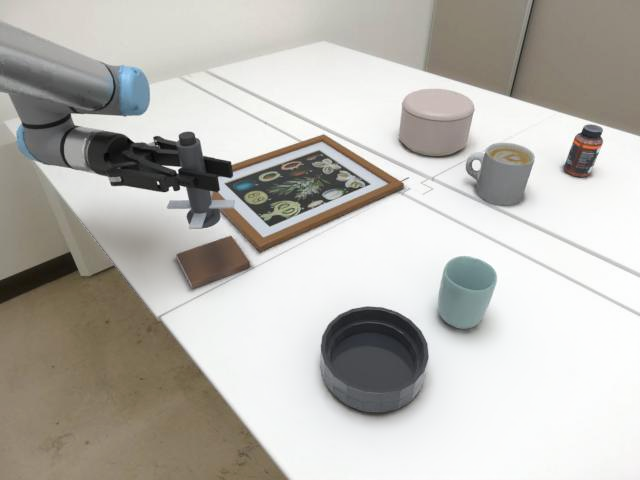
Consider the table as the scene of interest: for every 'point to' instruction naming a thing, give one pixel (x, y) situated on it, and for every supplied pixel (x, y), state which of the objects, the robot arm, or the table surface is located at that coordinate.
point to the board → (212, 261)
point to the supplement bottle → (584, 151)
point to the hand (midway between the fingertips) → (224, 176)
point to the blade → (199, 200)
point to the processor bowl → (373, 359)
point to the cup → (465, 291)
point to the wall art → (299, 189)
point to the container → (435, 121)
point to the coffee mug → (502, 172)
